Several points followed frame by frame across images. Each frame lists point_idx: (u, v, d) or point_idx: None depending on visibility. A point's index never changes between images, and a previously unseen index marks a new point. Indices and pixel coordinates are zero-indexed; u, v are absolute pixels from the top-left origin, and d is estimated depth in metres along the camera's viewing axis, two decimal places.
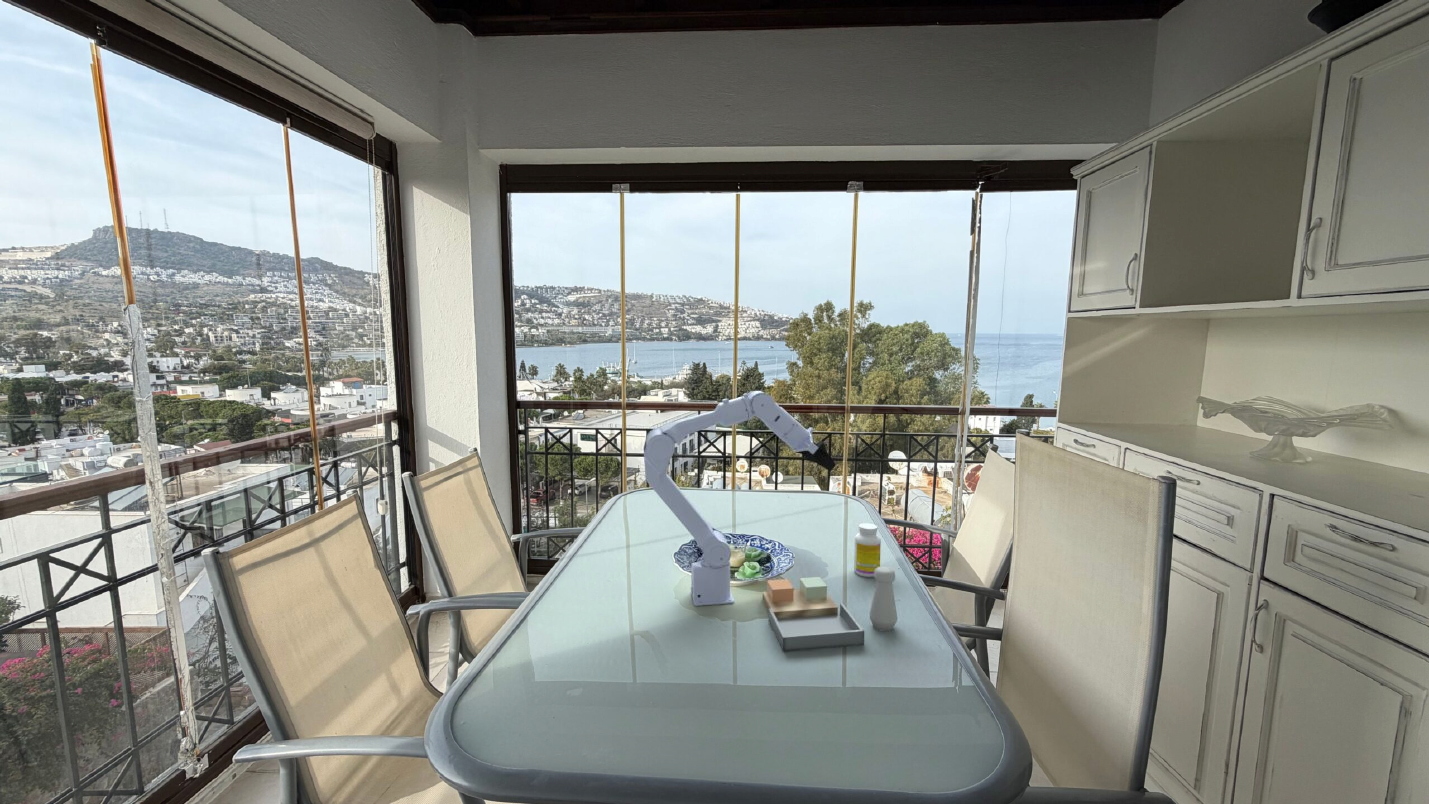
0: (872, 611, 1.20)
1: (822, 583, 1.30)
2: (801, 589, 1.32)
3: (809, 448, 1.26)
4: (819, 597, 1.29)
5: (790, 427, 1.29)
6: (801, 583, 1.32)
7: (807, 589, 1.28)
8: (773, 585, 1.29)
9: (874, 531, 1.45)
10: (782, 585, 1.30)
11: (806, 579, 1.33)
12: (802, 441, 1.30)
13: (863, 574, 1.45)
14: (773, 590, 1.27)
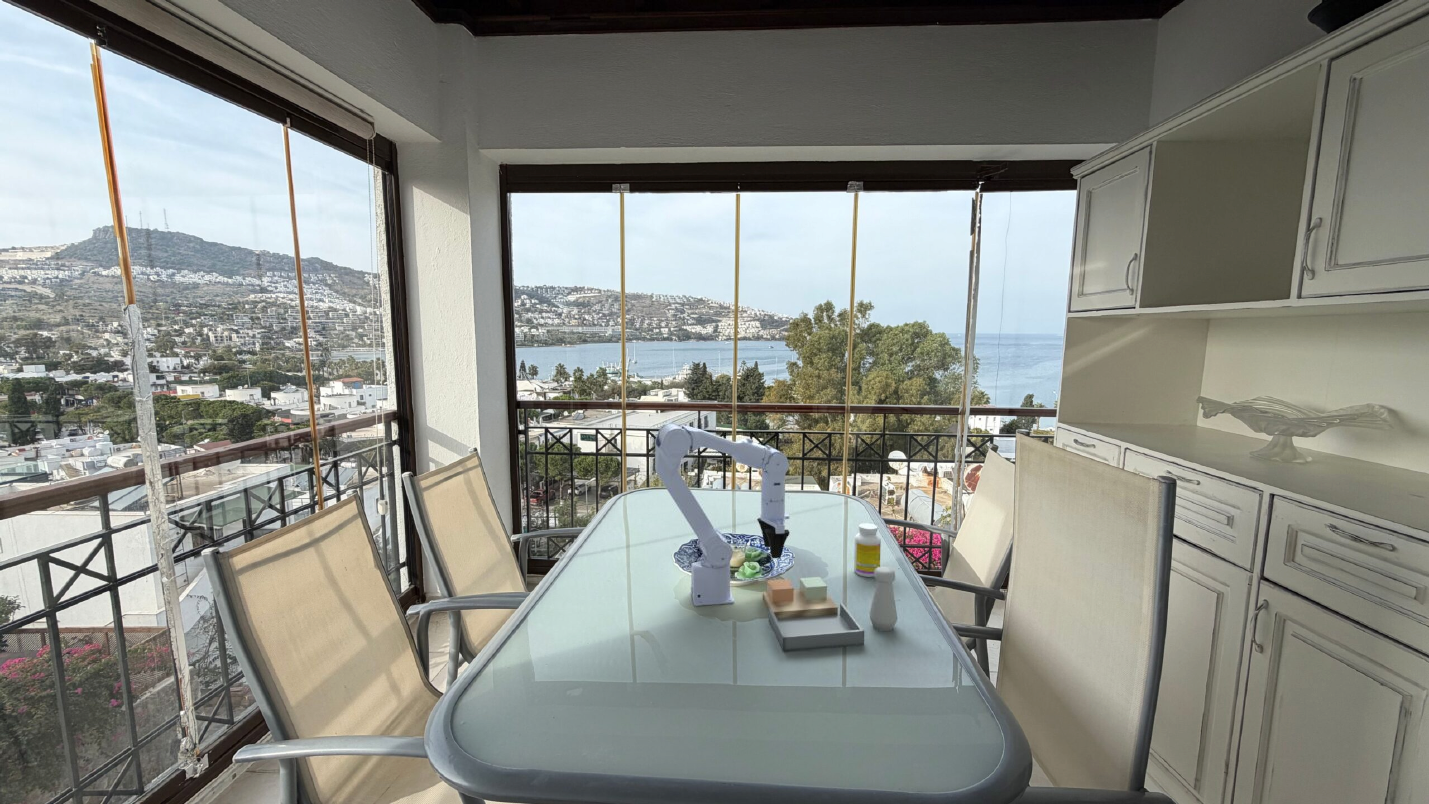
0: (872, 611, 1.20)
1: (822, 583, 1.30)
2: (801, 589, 1.32)
3: (778, 527, 1.29)
4: (819, 597, 1.29)
5: (779, 499, 1.33)
6: (801, 583, 1.32)
7: (807, 589, 1.28)
8: (773, 585, 1.29)
9: (874, 531, 1.45)
10: (782, 585, 1.30)
11: (806, 579, 1.33)
12: (775, 517, 1.33)
13: (863, 574, 1.45)
14: (773, 590, 1.27)
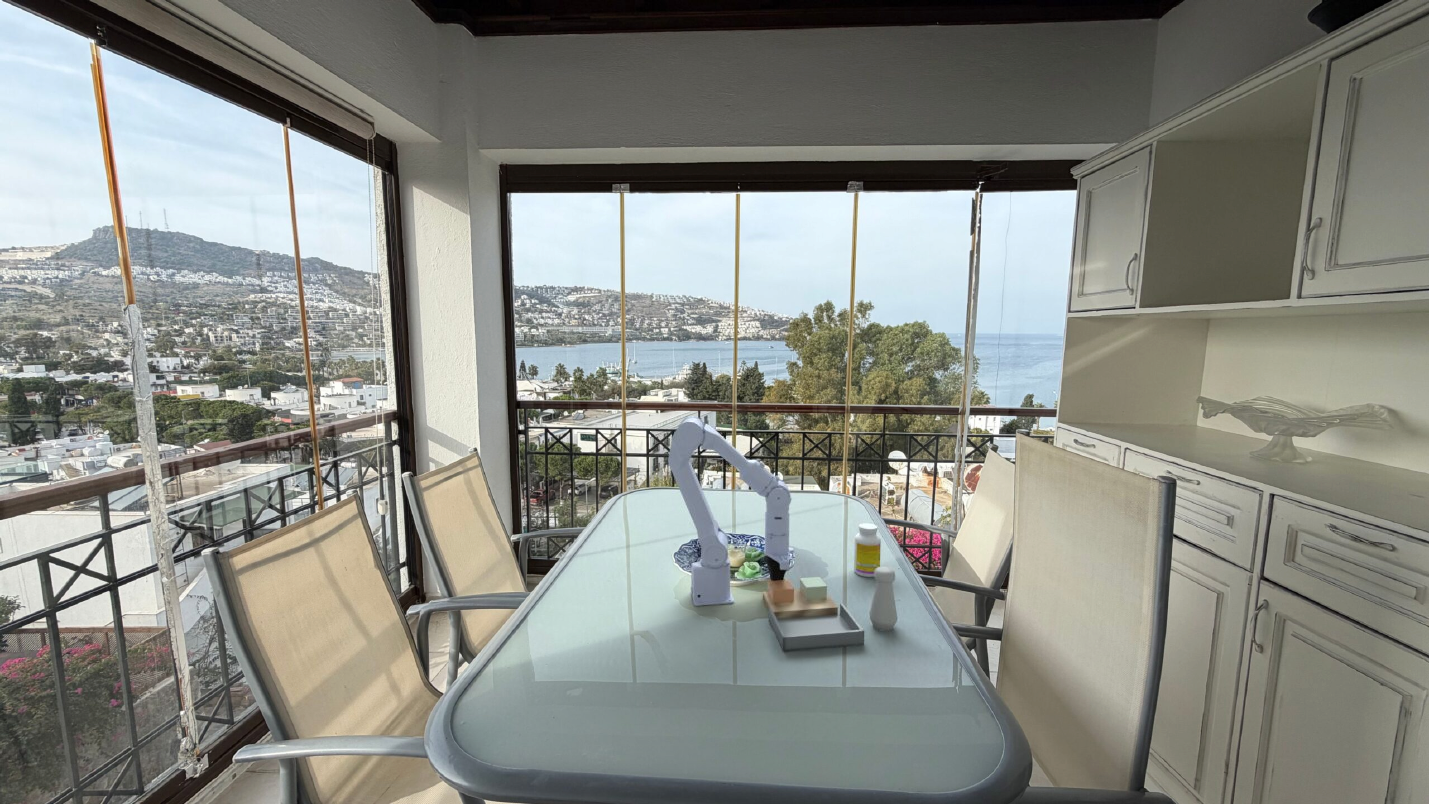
0: (872, 611, 1.20)
1: (822, 583, 1.30)
2: (801, 589, 1.32)
3: (783, 563, 1.25)
4: (819, 597, 1.29)
5: (780, 534, 1.29)
6: (801, 583, 1.32)
7: (807, 589, 1.28)
8: (774, 586, 1.29)
9: (874, 531, 1.45)
10: (783, 585, 1.29)
11: (806, 579, 1.33)
12: (779, 552, 1.30)
13: (863, 574, 1.45)
14: (773, 591, 1.27)
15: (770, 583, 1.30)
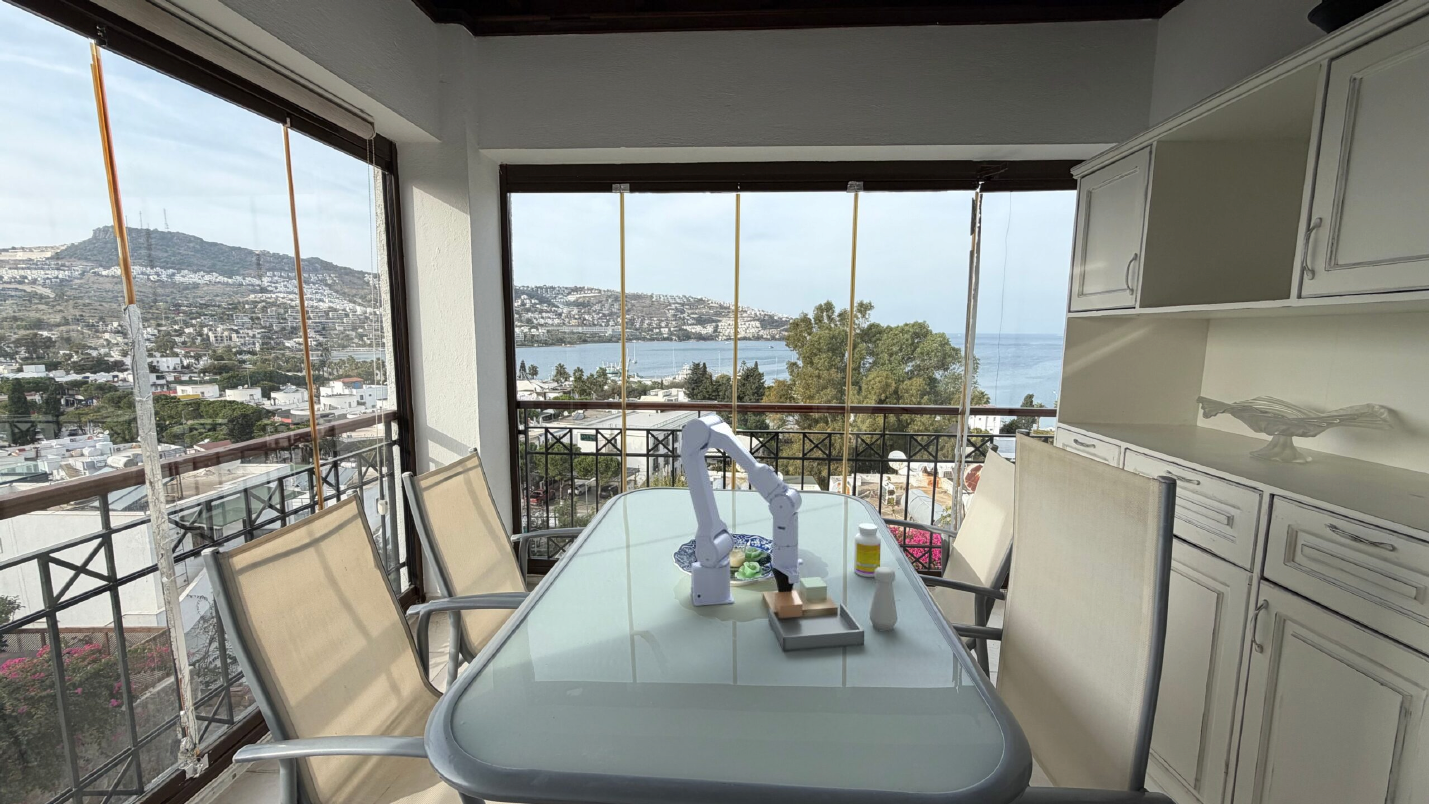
0: (872, 611, 1.20)
1: (822, 583, 1.30)
2: (801, 589, 1.32)
3: (792, 576, 1.18)
4: (819, 597, 1.29)
5: (783, 545, 1.22)
6: (801, 583, 1.32)
7: (807, 589, 1.28)
8: (781, 599, 1.23)
9: (874, 531, 1.45)
10: (791, 599, 1.23)
11: (806, 579, 1.33)
12: (788, 564, 1.23)
13: (863, 574, 1.45)
14: (781, 606, 1.20)
15: (777, 595, 1.24)
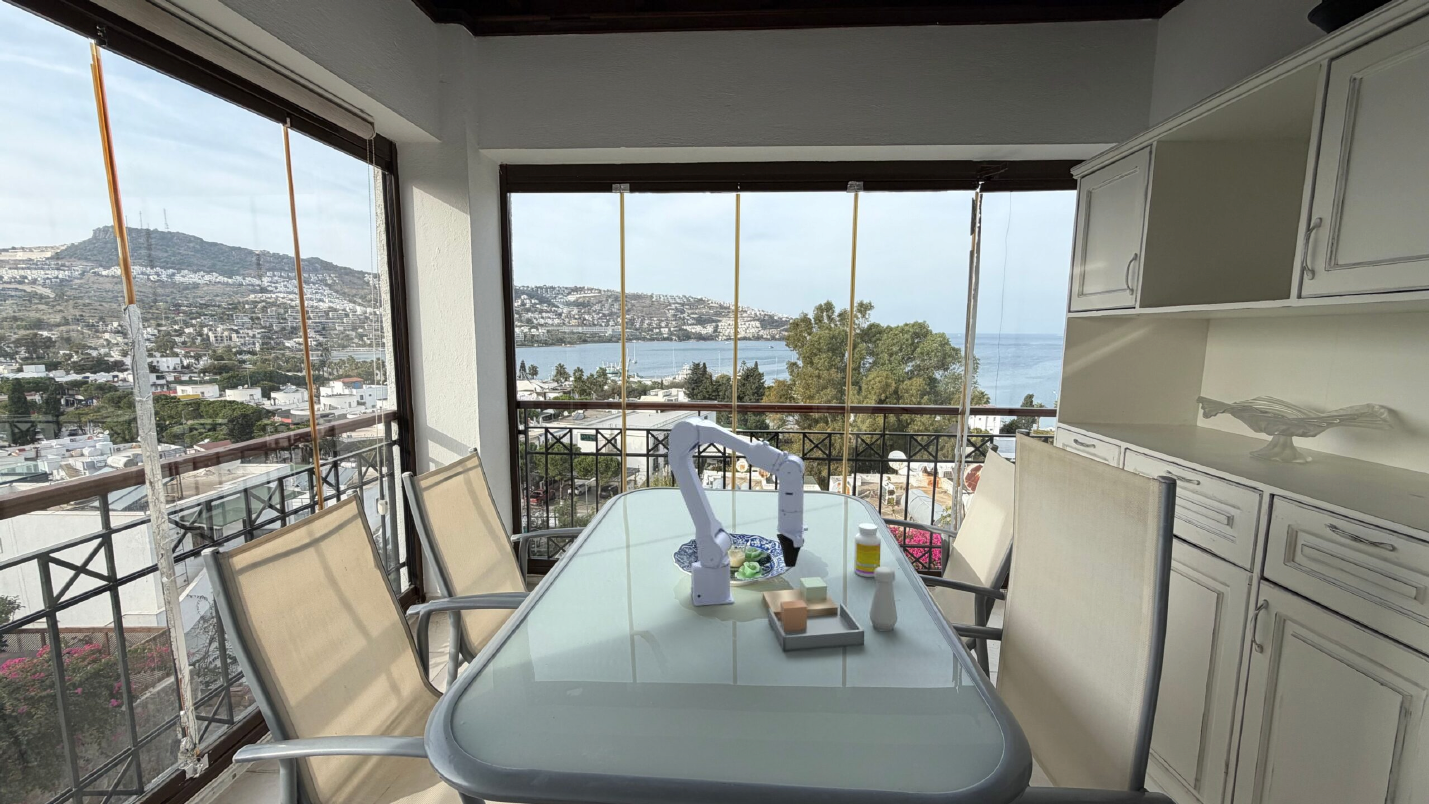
0: (872, 611, 1.20)
1: (822, 583, 1.30)
2: (801, 589, 1.32)
3: (796, 540, 1.20)
4: (819, 597, 1.29)
5: (791, 510, 1.24)
6: (801, 583, 1.32)
7: (807, 589, 1.28)
8: (788, 620, 1.18)
9: (874, 531, 1.45)
10: (797, 620, 1.18)
11: (806, 579, 1.33)
12: (793, 529, 1.25)
13: (863, 574, 1.45)
14: None
15: (785, 614, 1.18)
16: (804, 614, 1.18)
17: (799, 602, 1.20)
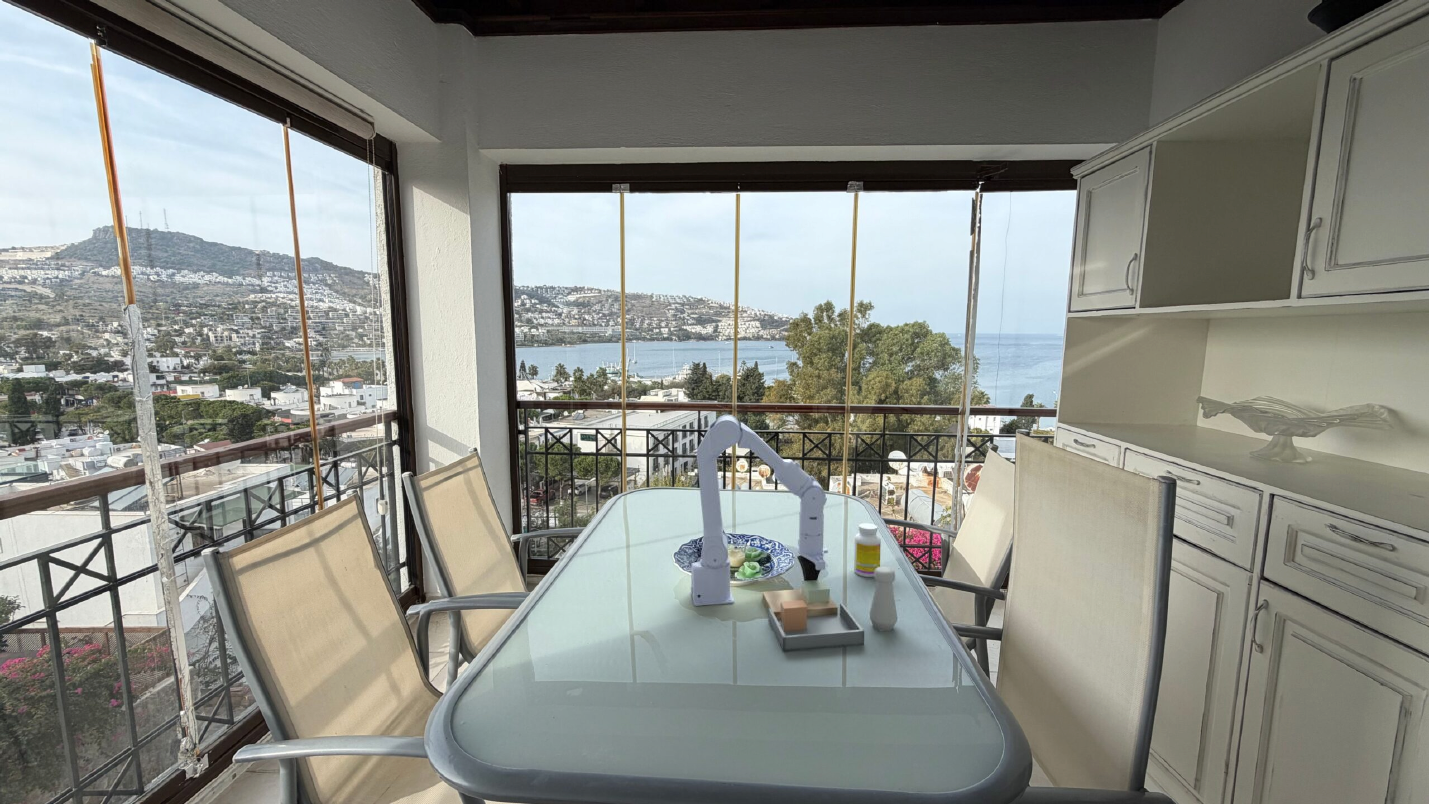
0: (872, 611, 1.20)
1: (825, 586, 1.29)
2: (803, 592, 1.30)
3: (819, 563, 1.25)
4: (822, 600, 1.27)
5: (815, 534, 1.29)
6: (803, 586, 1.30)
7: (810, 592, 1.27)
8: (788, 620, 1.18)
9: (874, 531, 1.45)
10: (797, 620, 1.18)
11: (808, 582, 1.31)
12: (814, 552, 1.30)
13: (863, 574, 1.45)
14: None
15: (785, 614, 1.18)
16: (804, 614, 1.18)
17: (799, 602, 1.20)
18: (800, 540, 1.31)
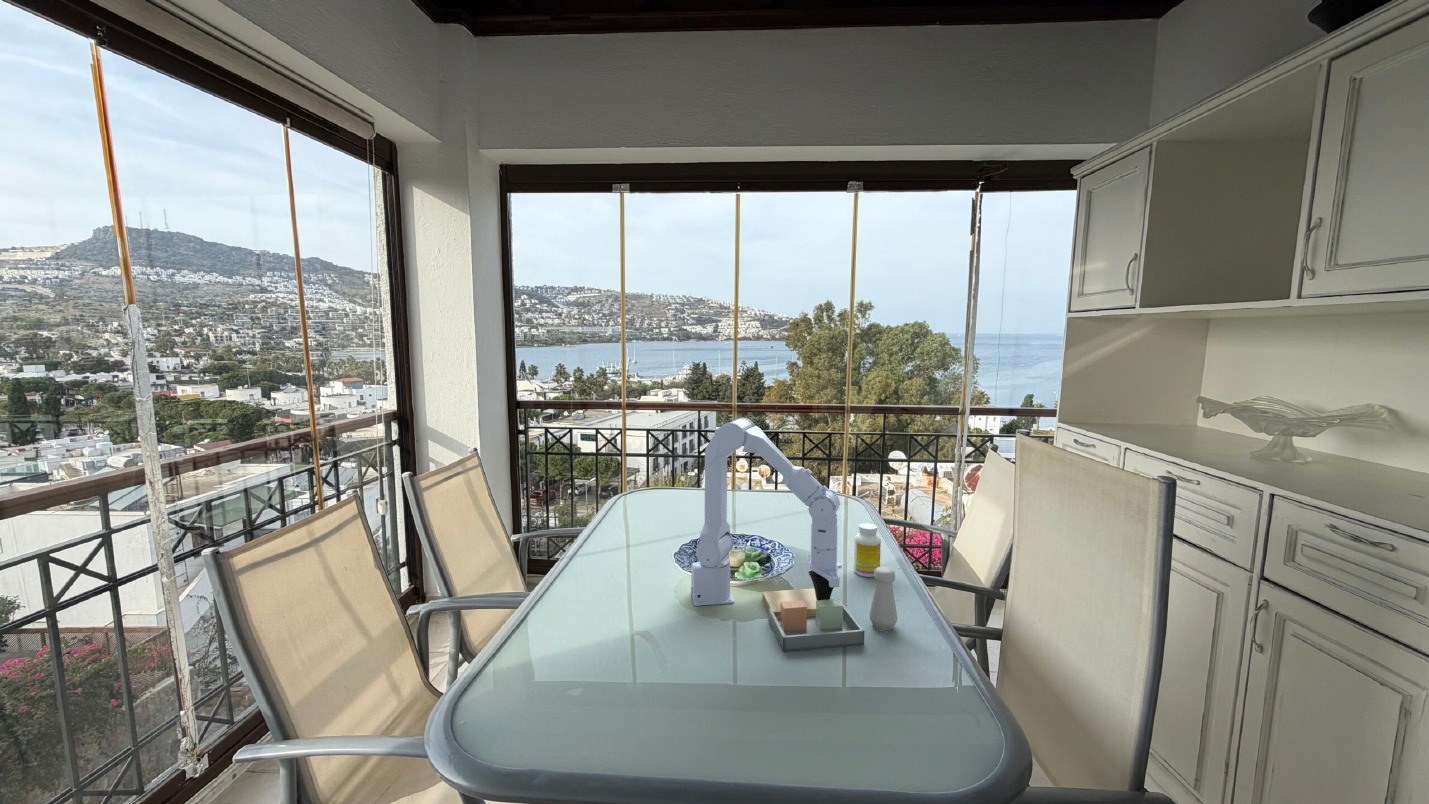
0: (872, 611, 1.20)
1: (840, 621, 1.19)
2: (817, 608, 1.20)
3: (832, 580, 1.16)
4: None
5: (823, 548, 1.20)
6: (819, 611, 1.19)
7: None
8: (788, 620, 1.18)
9: (874, 531, 1.45)
10: (797, 620, 1.18)
11: (826, 610, 1.18)
12: (827, 568, 1.21)
13: (863, 574, 1.45)
14: None
15: (785, 614, 1.18)
16: (804, 614, 1.18)
17: (799, 602, 1.20)
18: (812, 554, 1.22)
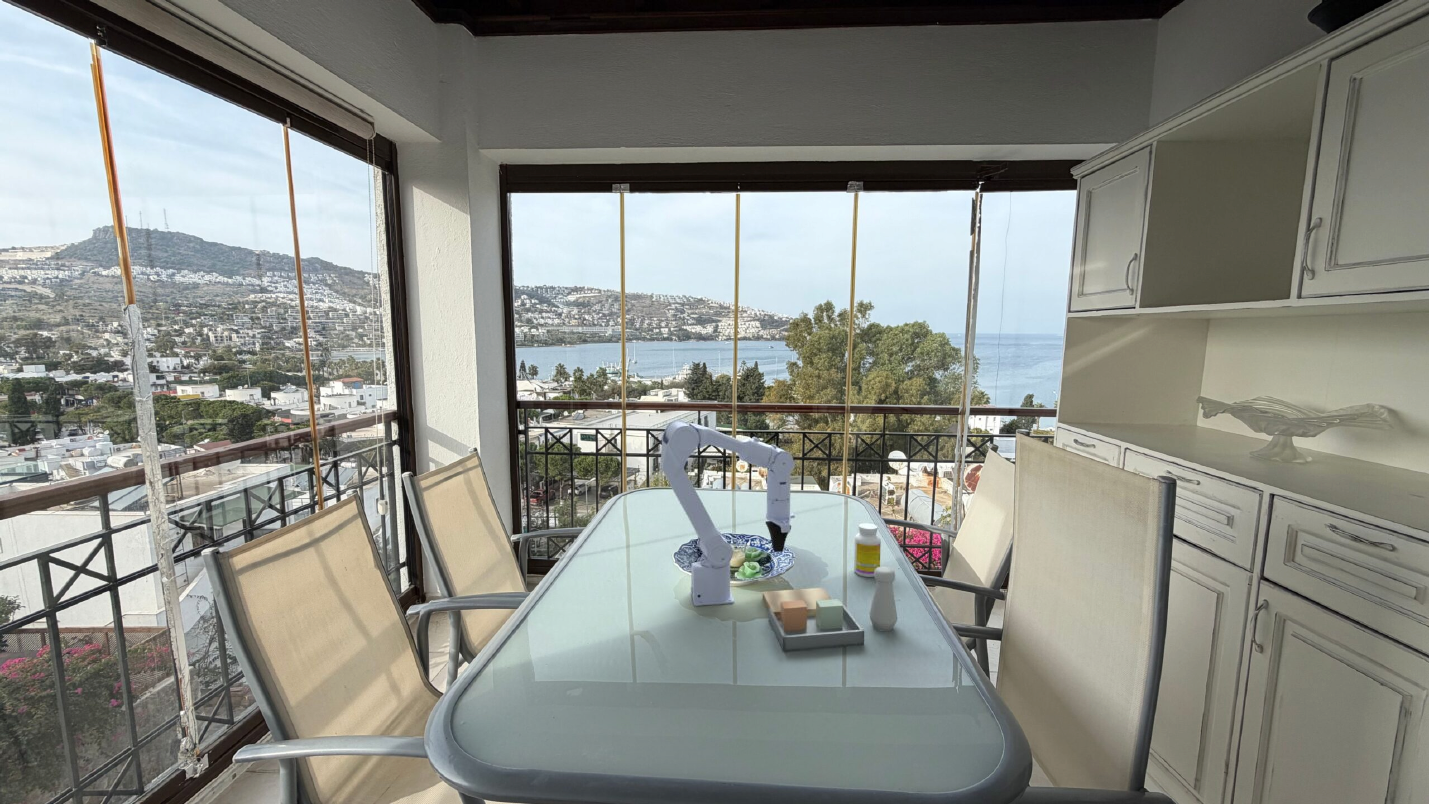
0: (872, 611, 1.20)
1: (840, 621, 1.19)
2: (817, 608, 1.20)
3: (784, 526, 1.29)
4: None
5: (784, 498, 1.33)
6: (819, 611, 1.19)
7: None
8: (788, 620, 1.18)
9: (874, 531, 1.45)
10: (797, 620, 1.18)
11: (826, 610, 1.18)
12: (780, 516, 1.34)
13: (863, 574, 1.45)
14: None
15: (785, 614, 1.18)
16: (804, 614, 1.18)
17: (799, 602, 1.20)
18: (767, 505, 1.35)
